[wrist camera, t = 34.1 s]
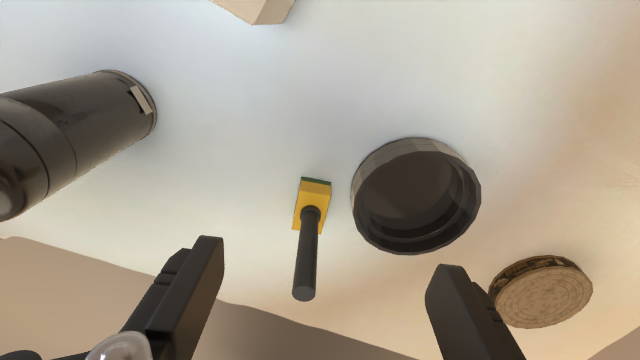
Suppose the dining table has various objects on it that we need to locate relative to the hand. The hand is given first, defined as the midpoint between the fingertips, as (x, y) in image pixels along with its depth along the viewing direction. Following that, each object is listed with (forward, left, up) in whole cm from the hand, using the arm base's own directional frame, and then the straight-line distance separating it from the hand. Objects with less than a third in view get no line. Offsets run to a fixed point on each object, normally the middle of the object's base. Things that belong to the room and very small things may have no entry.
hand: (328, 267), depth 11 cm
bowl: (+2, -19, -30) cm, 36 cm away
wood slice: (+12, -51, -30) cm, 61 cm away
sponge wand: (-11, -12, -30) cm, 34 cm away
